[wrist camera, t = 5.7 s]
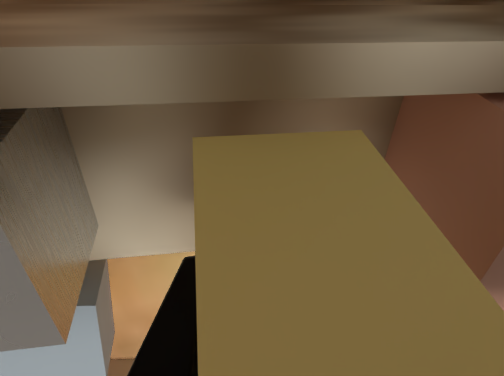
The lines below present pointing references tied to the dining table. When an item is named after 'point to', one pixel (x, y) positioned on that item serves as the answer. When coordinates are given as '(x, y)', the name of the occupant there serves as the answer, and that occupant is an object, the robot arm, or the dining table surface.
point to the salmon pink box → (457, 173)
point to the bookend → (40, 228)
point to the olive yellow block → (328, 266)
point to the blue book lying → (74, 336)
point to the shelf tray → (226, 85)
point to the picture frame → (119, 367)
